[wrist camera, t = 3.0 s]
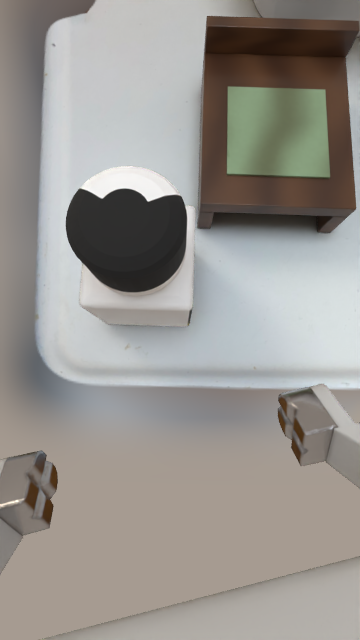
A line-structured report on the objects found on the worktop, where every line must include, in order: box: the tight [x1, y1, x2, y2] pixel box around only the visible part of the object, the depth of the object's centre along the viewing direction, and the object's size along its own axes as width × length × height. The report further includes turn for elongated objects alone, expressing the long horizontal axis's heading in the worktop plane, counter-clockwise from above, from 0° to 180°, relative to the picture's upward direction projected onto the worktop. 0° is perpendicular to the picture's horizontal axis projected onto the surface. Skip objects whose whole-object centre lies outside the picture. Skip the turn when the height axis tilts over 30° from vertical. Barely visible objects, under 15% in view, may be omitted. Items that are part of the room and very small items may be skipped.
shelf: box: [197, 16, 360, 233], centre depth 25 cm, size 12×15×6 cm
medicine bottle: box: [66, 166, 196, 327], centre depth 20 cm, size 7×7×12 cm
